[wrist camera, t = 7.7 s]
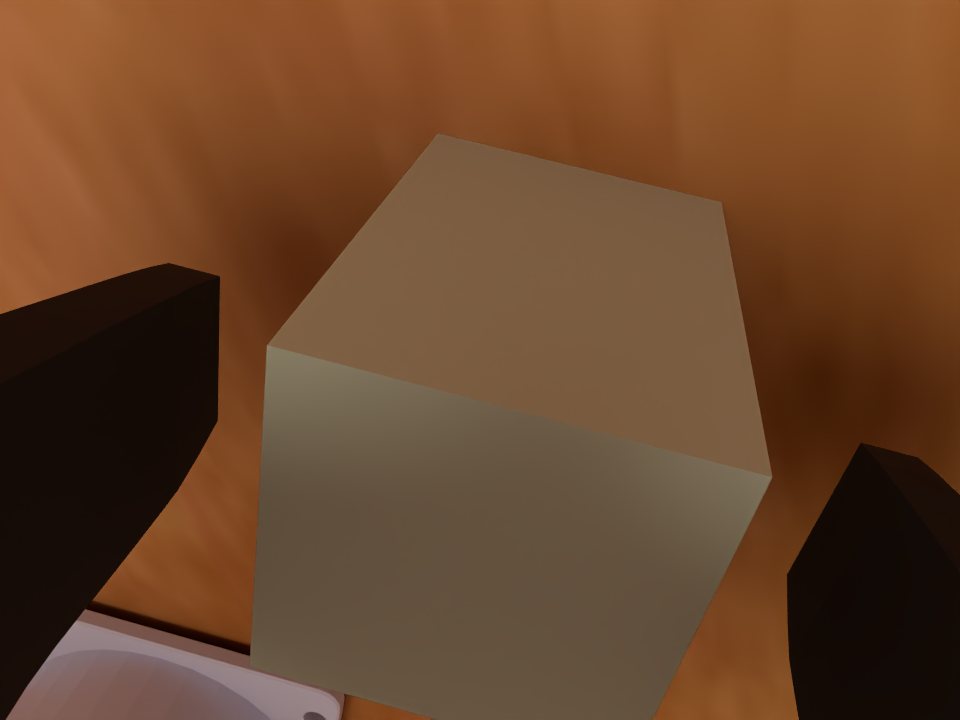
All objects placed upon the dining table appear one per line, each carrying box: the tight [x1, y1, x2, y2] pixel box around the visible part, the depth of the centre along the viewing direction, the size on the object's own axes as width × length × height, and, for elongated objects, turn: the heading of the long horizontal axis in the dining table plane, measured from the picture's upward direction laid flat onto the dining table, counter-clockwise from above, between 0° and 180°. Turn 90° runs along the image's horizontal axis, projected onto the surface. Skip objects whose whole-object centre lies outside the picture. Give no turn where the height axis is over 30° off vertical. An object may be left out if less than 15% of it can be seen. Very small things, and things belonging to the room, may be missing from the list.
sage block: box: [250, 133, 772, 720], centre depth 10 cm, size 4×4×6 cm
